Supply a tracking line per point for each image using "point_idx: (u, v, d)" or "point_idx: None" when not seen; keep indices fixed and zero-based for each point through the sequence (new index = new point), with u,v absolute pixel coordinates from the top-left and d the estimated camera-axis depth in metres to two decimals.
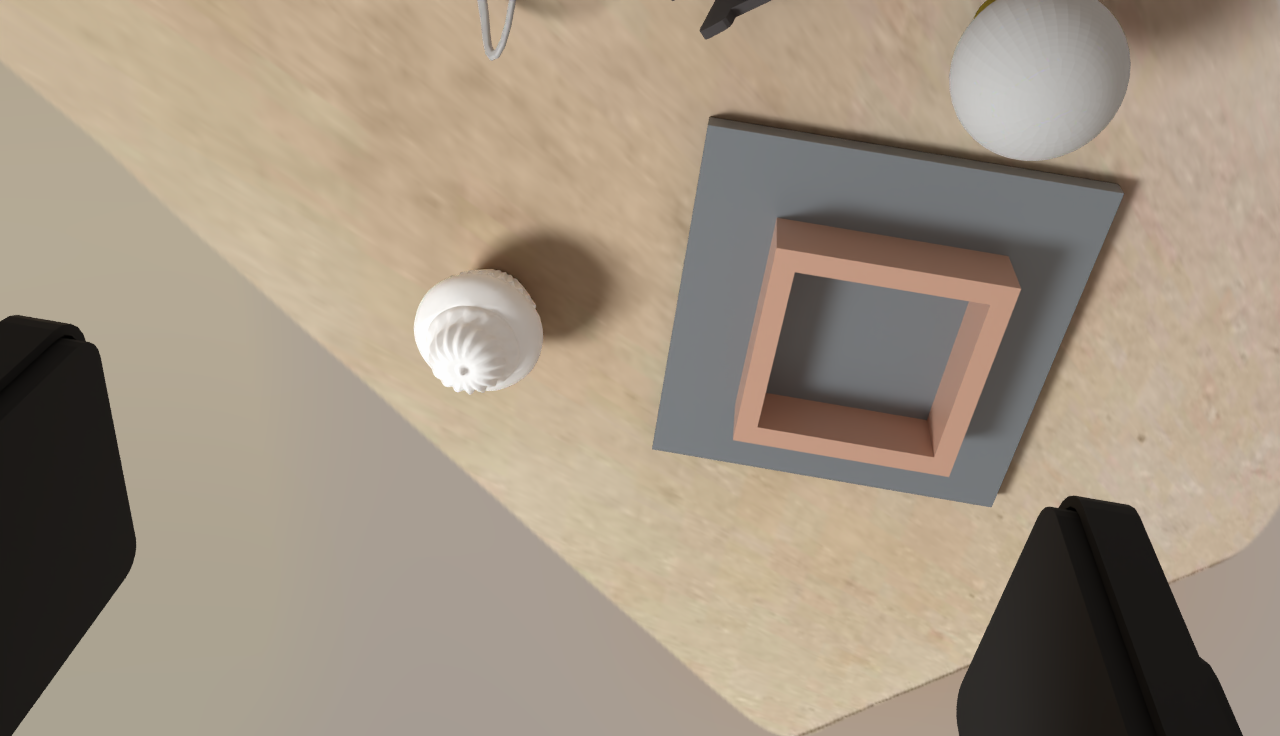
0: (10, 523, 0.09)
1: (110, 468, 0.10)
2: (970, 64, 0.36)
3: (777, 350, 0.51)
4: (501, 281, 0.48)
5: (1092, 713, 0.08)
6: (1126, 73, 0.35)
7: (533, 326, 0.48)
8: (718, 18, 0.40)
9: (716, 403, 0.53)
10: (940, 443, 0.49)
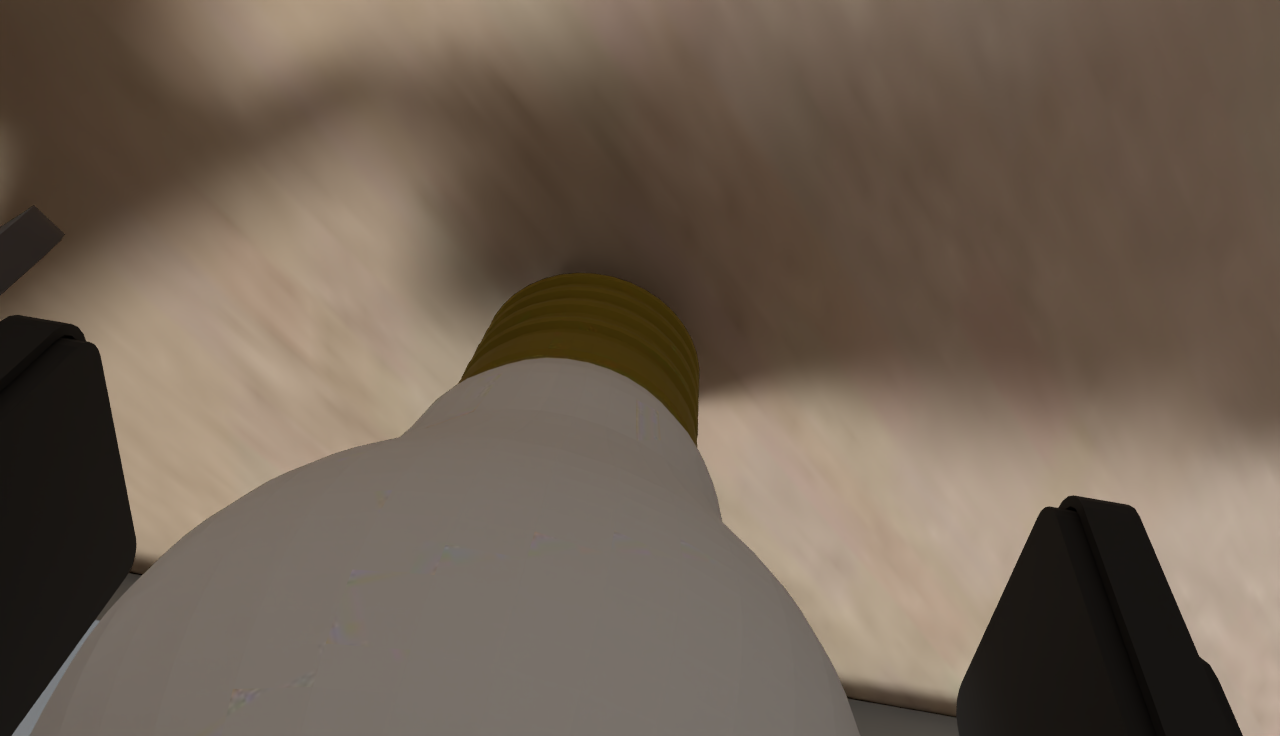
0: (11, 523, 0.09)
1: (110, 468, 0.10)
2: None
3: None
4: None
5: (1092, 713, 0.08)
6: None
7: None
8: None
9: None
10: None
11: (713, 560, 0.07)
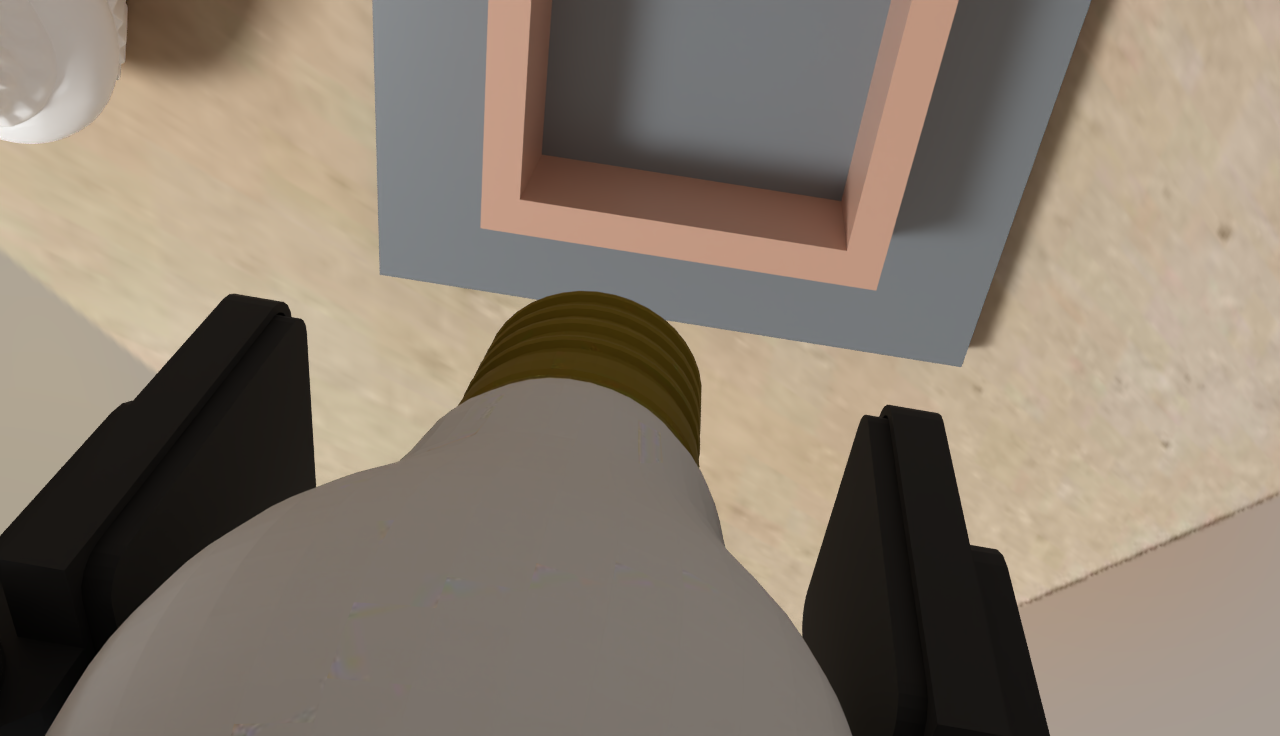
0: (244, 484, 0.10)
1: (306, 438, 0.11)
2: None
3: (564, 68, 0.28)
4: None
5: (871, 586, 0.09)
6: None
7: None
8: None
9: (472, 181, 0.30)
10: (856, 221, 0.26)
11: (715, 590, 0.07)
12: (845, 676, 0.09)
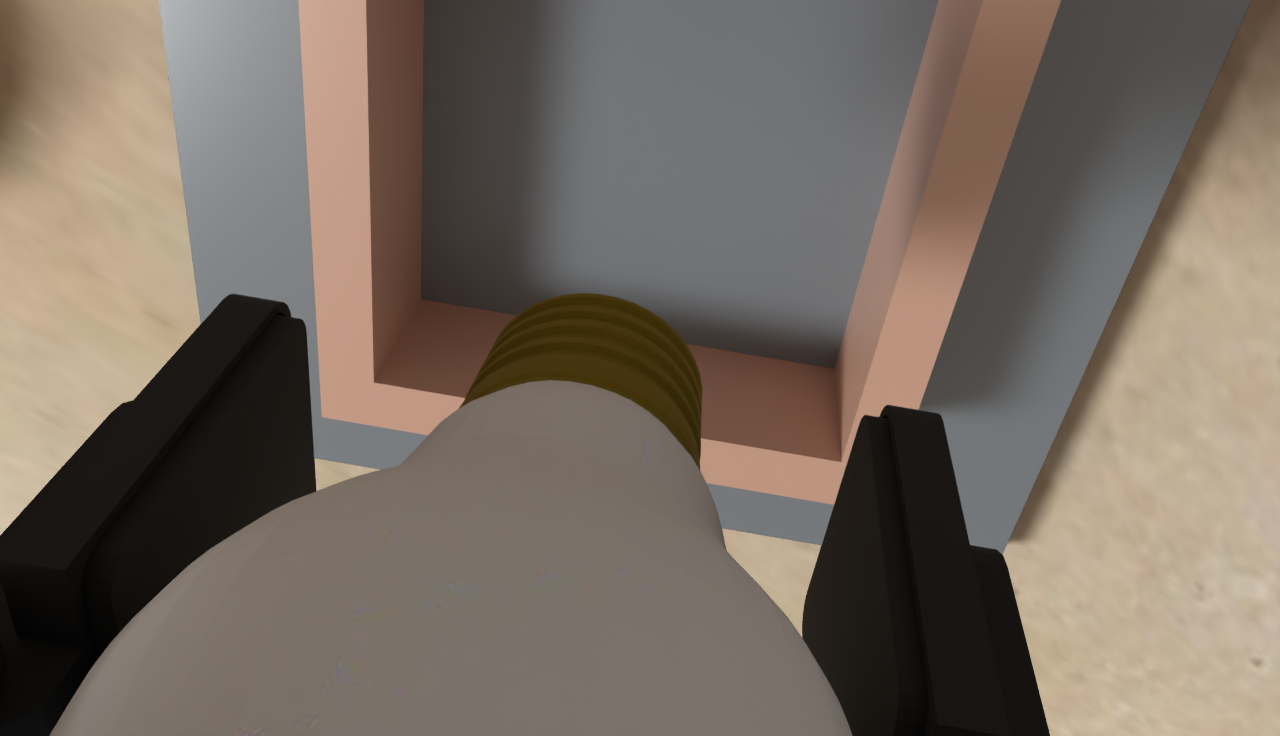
0: (244, 484, 0.10)
1: (306, 438, 0.11)
2: None
3: (445, 188, 0.20)
4: None
5: (872, 586, 0.09)
6: None
7: None
8: None
9: None
10: (855, 424, 0.18)
11: (717, 594, 0.07)
12: (845, 676, 0.09)
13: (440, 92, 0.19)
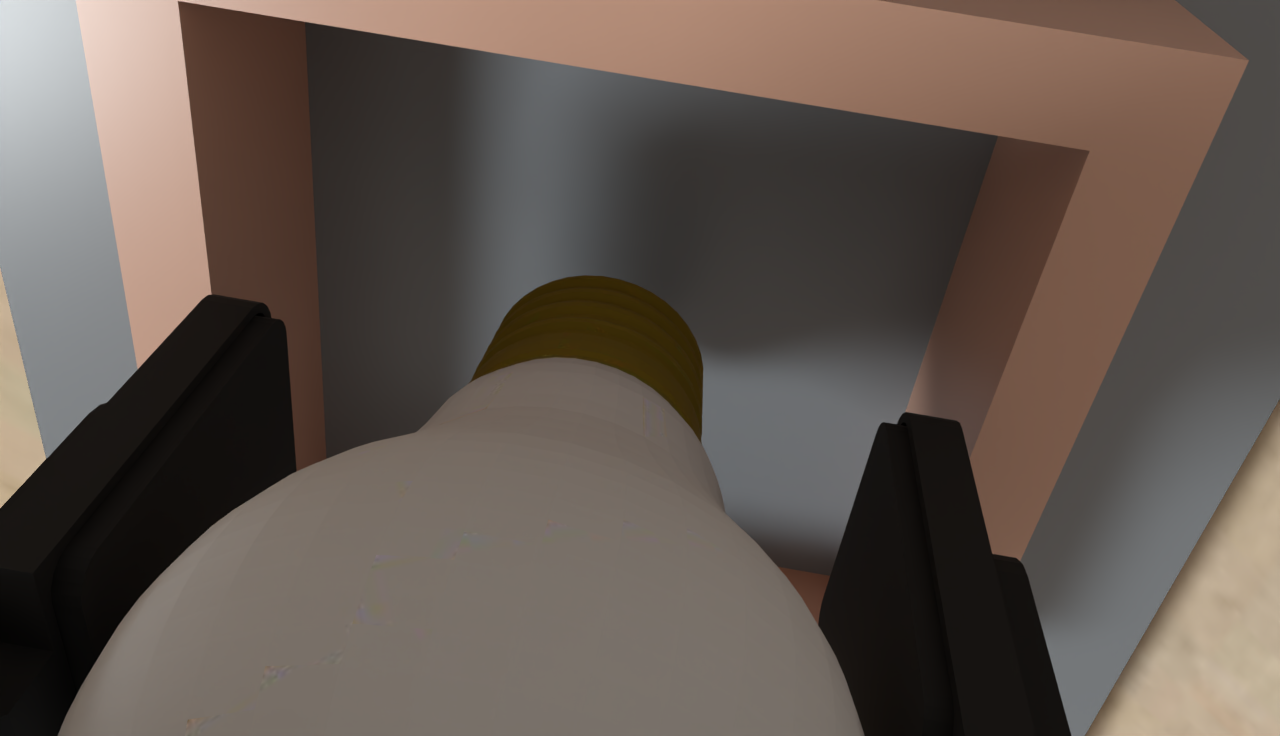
0: (222, 485, 0.10)
1: (287, 439, 0.11)
2: None
3: (352, 362, 0.16)
4: None
5: (893, 596, 0.09)
6: None
7: None
8: None
9: None
10: None
11: (718, 548, 0.07)
12: (866, 686, 0.09)
13: (338, 249, 0.14)
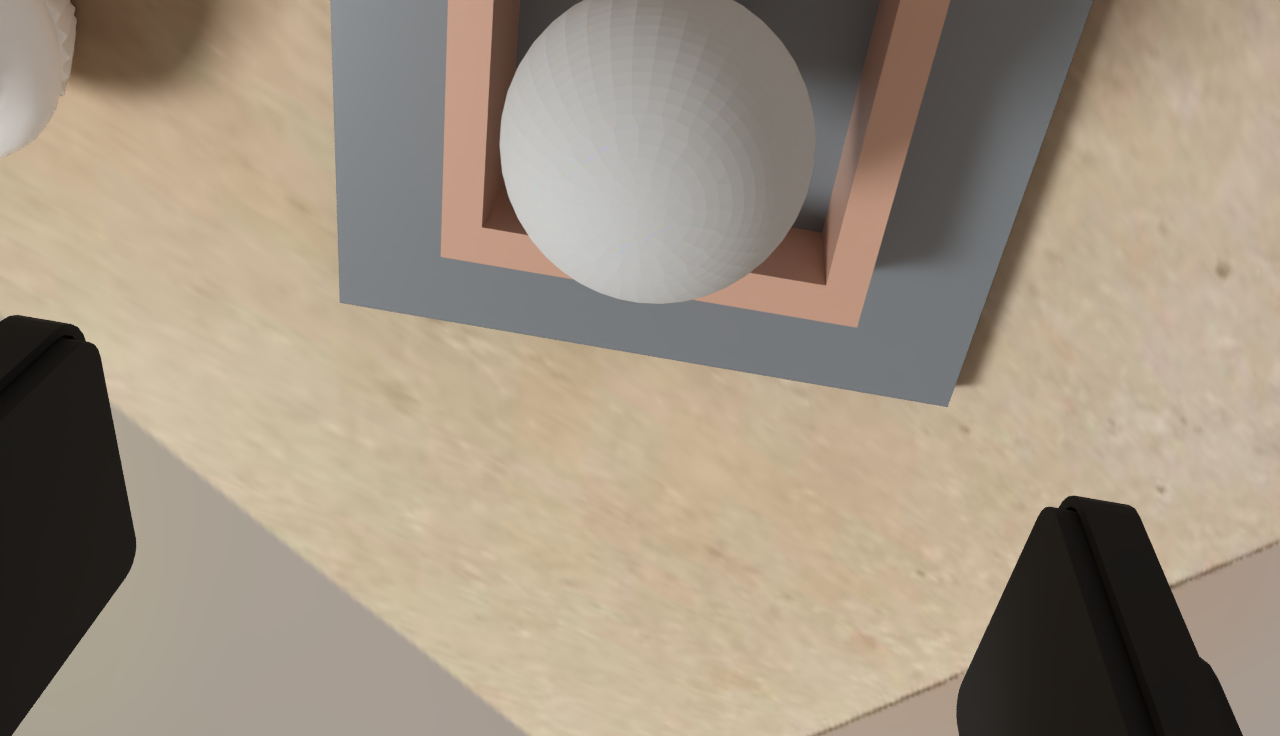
0: (10, 523, 0.09)
1: (110, 468, 0.10)
2: (505, 130, 0.19)
3: None
4: None
5: (1092, 713, 0.08)
6: (790, 150, 0.18)
7: (11, 6, 0.24)
8: None
9: (436, 207, 0.29)
10: (836, 254, 0.25)
11: None
12: None
13: (532, 15, 0.26)
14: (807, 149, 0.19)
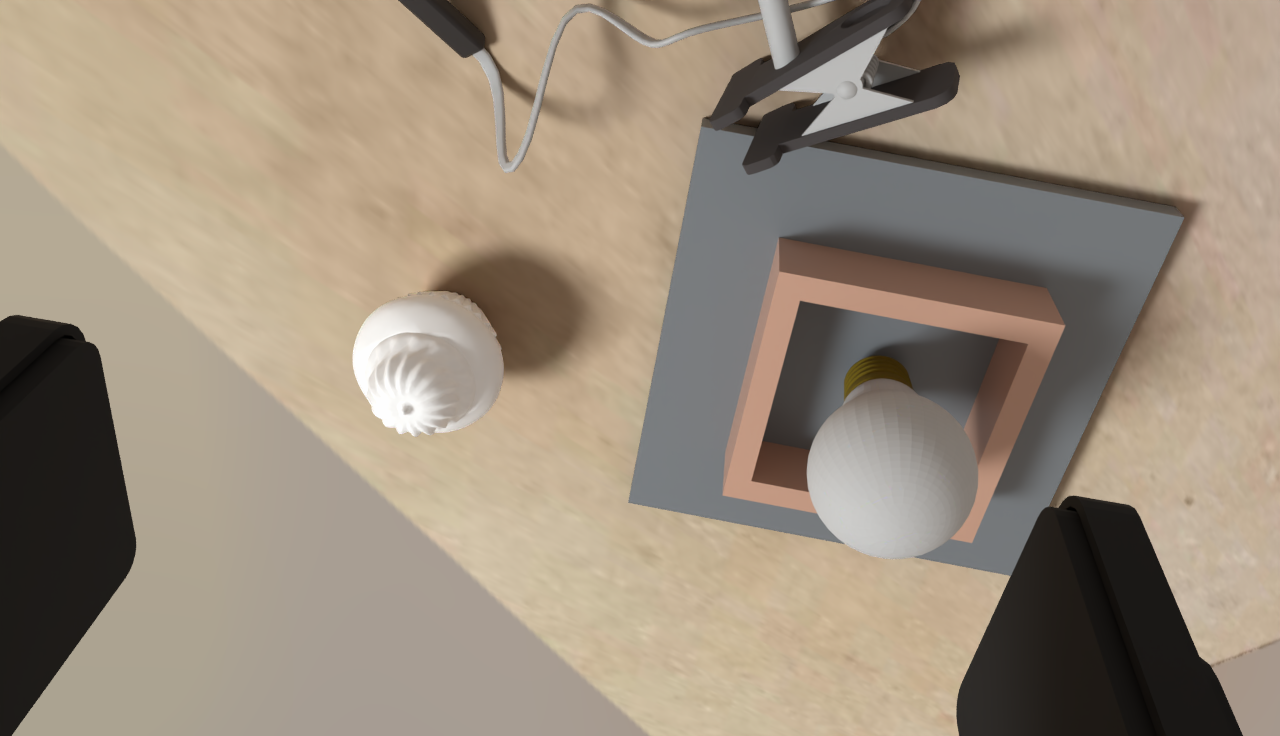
0: (10, 523, 0.09)
1: (110, 468, 0.10)
2: (820, 473, 0.36)
3: (775, 392, 0.44)
4: (455, 305, 0.41)
5: (1092, 713, 0.08)
6: (971, 492, 0.35)
7: (491, 357, 0.41)
8: (764, 153, 0.36)
9: (703, 451, 0.46)
10: None
11: (947, 412, 0.36)
12: None
13: None
14: (977, 487, 0.36)
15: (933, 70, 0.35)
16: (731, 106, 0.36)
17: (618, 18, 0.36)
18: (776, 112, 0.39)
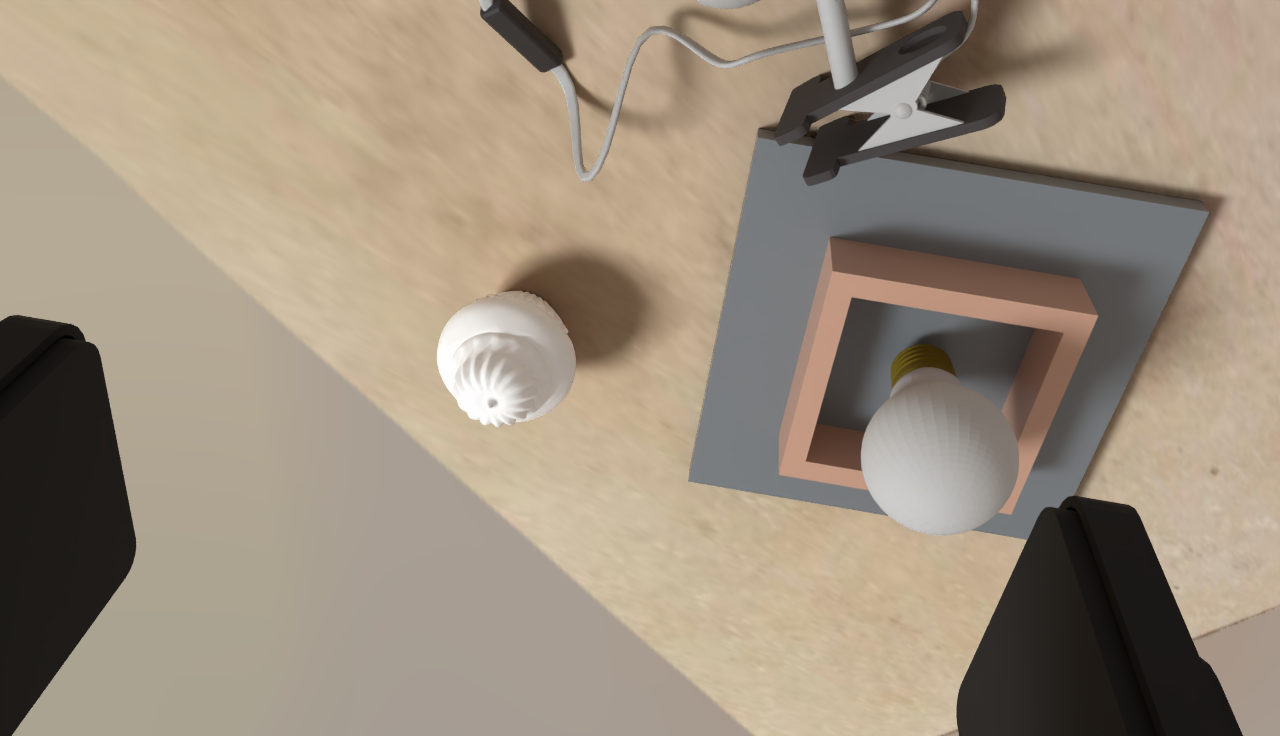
0: (10, 523, 0.09)
1: (110, 468, 0.10)
2: (875, 459, 0.40)
3: None
4: (531, 305, 0.45)
5: (1092, 713, 0.08)
6: (1013, 475, 0.39)
7: (565, 353, 0.45)
8: (823, 167, 0.39)
9: (758, 433, 0.50)
10: None
11: (990, 402, 0.40)
12: None
13: None
14: (1018, 469, 0.39)
15: (981, 91, 0.38)
16: (794, 123, 0.39)
17: (689, 39, 0.39)
18: (832, 125, 0.42)
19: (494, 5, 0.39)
